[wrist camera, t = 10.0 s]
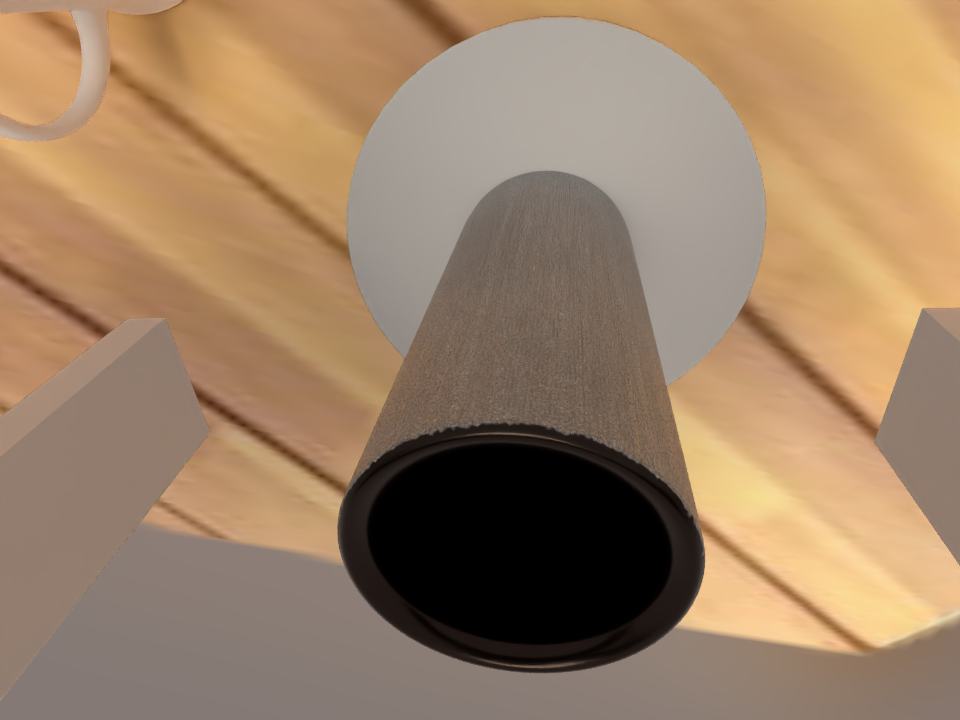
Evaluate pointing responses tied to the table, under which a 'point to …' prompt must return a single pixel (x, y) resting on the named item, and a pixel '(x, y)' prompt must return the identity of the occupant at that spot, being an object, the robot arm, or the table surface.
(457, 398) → the grey tube
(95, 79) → the white ceramic jug
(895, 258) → the table surface
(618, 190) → the stool
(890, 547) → the table surface
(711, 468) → the table surface
